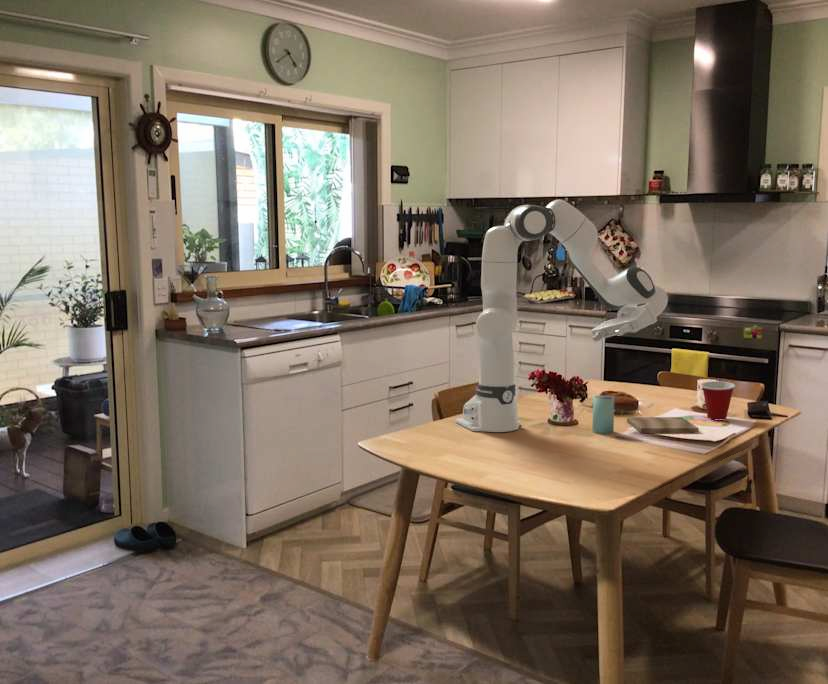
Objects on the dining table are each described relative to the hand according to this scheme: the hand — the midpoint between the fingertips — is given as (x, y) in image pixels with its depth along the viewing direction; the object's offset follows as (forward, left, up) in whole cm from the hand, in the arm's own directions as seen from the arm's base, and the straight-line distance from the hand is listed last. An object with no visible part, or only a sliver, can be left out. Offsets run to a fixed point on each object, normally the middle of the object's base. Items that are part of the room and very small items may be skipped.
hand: (606, 336), depth 244 cm
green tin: (-3, +3, -30) cm, 31 cm away
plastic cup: (+3, +48, -31) cm, 57 cm away
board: (+2, +23, -30) cm, 38 cm away
